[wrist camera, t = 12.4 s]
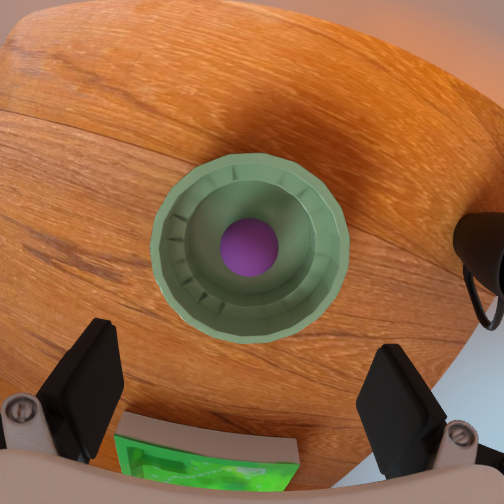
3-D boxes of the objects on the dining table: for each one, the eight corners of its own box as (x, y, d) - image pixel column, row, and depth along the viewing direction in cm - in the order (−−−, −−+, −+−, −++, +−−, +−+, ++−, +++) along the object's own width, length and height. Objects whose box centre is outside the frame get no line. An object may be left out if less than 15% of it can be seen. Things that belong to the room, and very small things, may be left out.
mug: (426, 295, 32) (470, 337, 22) (453, 194, 28) (511, 212, 19) (471, 299, 32) (514, 334, 23) (496, 209, 28) (550, 229, 19)
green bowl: (137, 225, 29) (113, 243, 23) (263, 119, 26) (267, 110, 20) (238, 336, 32) (236, 371, 27) (359, 249, 30) (382, 271, 24)
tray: (259, 503, 46) (260, 522, 41) (135, 484, 44) (130, 502, 39) (296, 438, 38) (300, 464, 34) (124, 410, 37) (113, 435, 32)
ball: (211, 235, 29) (204, 252, 24) (253, 201, 28) (254, 212, 23) (245, 274, 30) (244, 297, 25) (286, 243, 29) (294, 261, 24)
